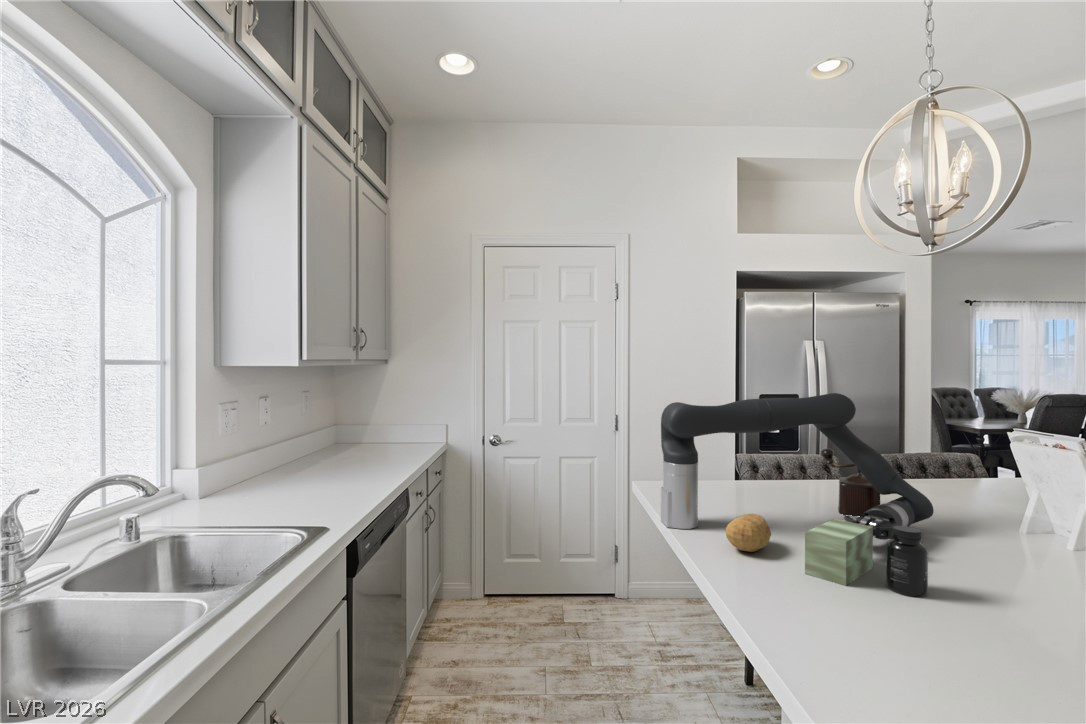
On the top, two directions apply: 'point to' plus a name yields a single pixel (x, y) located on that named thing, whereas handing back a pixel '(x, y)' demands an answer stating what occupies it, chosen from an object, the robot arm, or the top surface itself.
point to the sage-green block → (838, 551)
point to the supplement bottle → (907, 562)
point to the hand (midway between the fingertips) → (857, 534)
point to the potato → (748, 532)
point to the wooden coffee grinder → (853, 490)
